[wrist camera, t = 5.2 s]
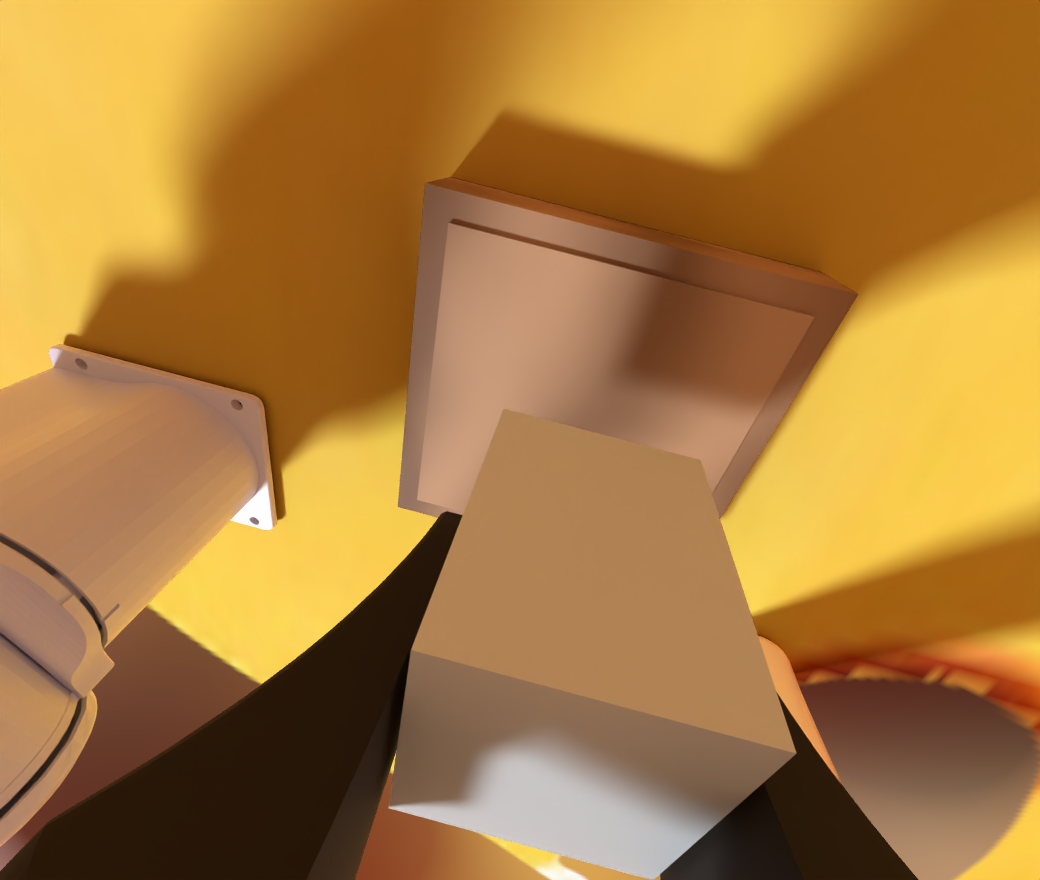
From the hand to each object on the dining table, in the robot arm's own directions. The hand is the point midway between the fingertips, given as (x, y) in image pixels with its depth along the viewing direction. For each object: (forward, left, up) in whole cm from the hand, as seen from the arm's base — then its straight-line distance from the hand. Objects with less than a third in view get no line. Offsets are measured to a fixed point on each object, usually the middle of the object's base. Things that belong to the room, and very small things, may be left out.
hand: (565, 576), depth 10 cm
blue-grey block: (0, 0, -2) cm, 2 cm away
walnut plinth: (0, 0, -9) cm, 9 cm away
